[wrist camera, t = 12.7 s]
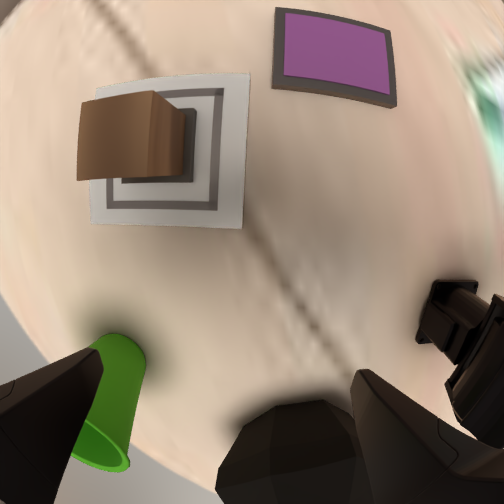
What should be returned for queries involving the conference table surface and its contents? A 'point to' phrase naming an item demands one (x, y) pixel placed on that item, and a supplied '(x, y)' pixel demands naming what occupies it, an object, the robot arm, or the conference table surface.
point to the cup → (112, 405)
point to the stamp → (136, 139)
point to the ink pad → (333, 57)
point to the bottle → (296, 459)
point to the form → (205, 158)
